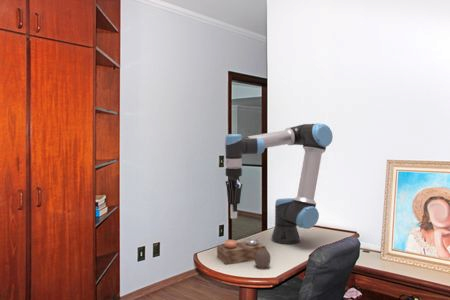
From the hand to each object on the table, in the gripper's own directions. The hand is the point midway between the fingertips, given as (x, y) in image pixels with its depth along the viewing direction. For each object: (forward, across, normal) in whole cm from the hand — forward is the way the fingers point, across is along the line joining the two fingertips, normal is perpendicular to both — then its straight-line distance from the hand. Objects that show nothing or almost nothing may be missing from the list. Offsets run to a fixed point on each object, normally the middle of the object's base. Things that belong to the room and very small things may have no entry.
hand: (233, 218), depth 169 cm
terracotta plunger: (+17, +2, -3) cm, 17 cm away
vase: (+19, +15, +6) cm, 25 cm away
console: (+19, +2, +3) cm, 19 cm away
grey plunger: (+18, +2, +8) cm, 19 cm away
